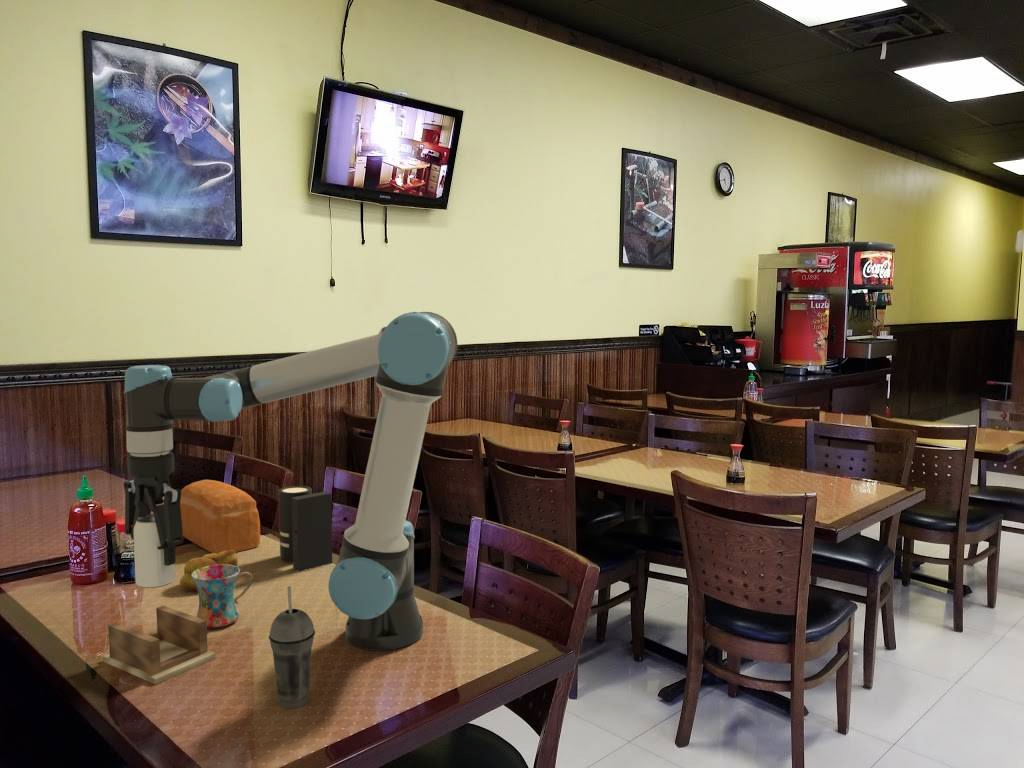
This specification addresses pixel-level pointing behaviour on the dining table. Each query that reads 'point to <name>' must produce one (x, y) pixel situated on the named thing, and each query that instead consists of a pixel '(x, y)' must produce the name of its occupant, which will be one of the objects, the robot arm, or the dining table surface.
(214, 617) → the mug
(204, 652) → the caddy
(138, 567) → the can
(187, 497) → the bread
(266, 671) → the dining table surface
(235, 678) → the dining table surface
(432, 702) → the dining table surface
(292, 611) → the beverage cup
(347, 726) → the dining table surface
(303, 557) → the light fixture
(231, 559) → the ginger root
